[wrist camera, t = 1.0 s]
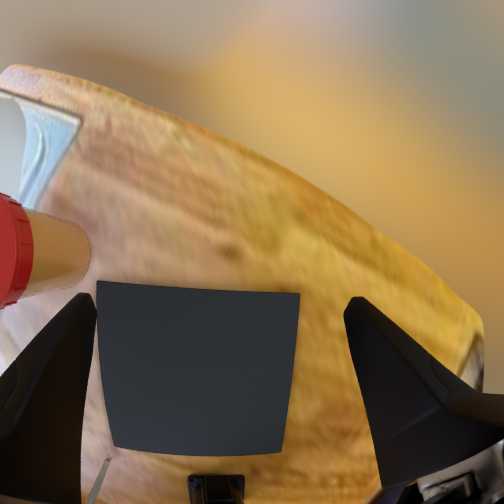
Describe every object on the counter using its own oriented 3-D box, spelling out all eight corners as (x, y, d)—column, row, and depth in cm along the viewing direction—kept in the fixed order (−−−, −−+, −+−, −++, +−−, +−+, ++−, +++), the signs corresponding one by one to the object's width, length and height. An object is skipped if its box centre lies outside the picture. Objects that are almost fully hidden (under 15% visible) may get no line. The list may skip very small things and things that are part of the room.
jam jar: (89, 291, 21) (18, 313, 10) (37, 284, 20) (-39, 296, 9) (93, 221, 21) (23, 196, 10) (41, 219, 20) (-34, 198, 9)
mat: (280, 449, 24) (281, 452, 23) (114, 443, 20) (114, 446, 20) (298, 292, 24) (300, 293, 24) (98, 280, 21) (96, 280, 20)
